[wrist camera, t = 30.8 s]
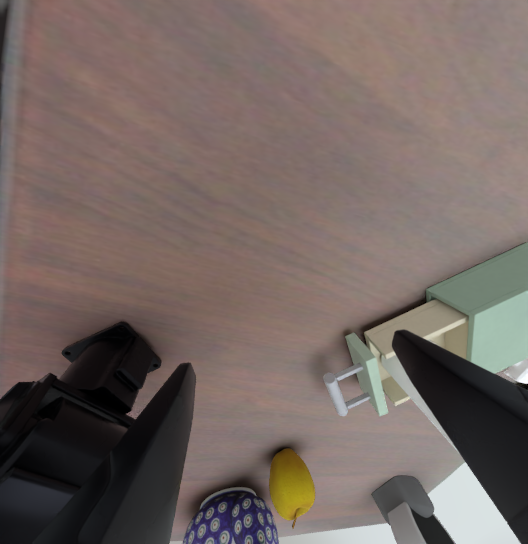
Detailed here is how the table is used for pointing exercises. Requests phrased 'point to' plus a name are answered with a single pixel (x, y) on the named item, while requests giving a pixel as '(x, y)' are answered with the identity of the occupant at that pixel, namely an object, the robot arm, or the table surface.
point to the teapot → (232, 520)
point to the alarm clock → (410, 512)
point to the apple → (290, 485)
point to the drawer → (367, 361)
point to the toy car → (519, 371)
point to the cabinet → (492, 308)
